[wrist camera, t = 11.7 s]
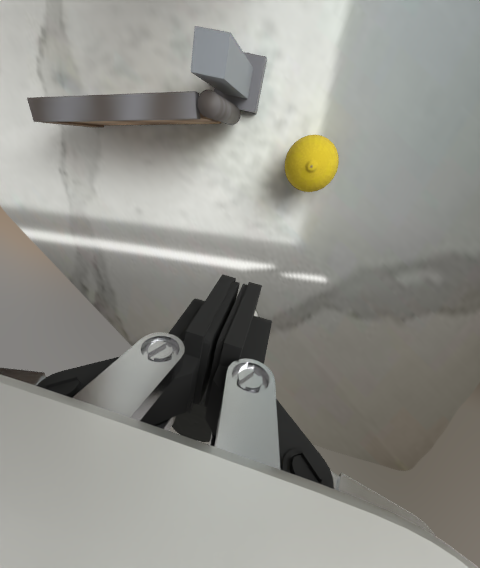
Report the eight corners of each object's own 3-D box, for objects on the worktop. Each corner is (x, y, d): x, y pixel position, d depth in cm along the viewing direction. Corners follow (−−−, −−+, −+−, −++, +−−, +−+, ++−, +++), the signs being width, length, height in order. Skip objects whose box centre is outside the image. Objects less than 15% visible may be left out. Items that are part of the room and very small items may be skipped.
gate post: (222, 50, 30) (182, 3, 20) (266, 59, 29) (248, 15, 19) (215, 104, 32) (176, 85, 22) (256, 113, 31) (235, 98, 22)
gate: (242, 105, 31) (219, 89, 23) (242, 125, 32) (220, 117, 24) (89, 109, 35) (22, 97, 26) (93, 127, 36) (29, 121, 27)
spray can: (213, 299, 44) (153, 400, 27) (254, 294, 42) (217, 398, 25) (225, 333, 47) (177, 445, 29) (263, 329, 45) (237, 447, 27)
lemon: (318, 125, 31) (322, 118, 24) (343, 167, 32) (354, 173, 25) (277, 157, 33) (270, 160, 26) (302, 196, 34) (302, 208, 27)
